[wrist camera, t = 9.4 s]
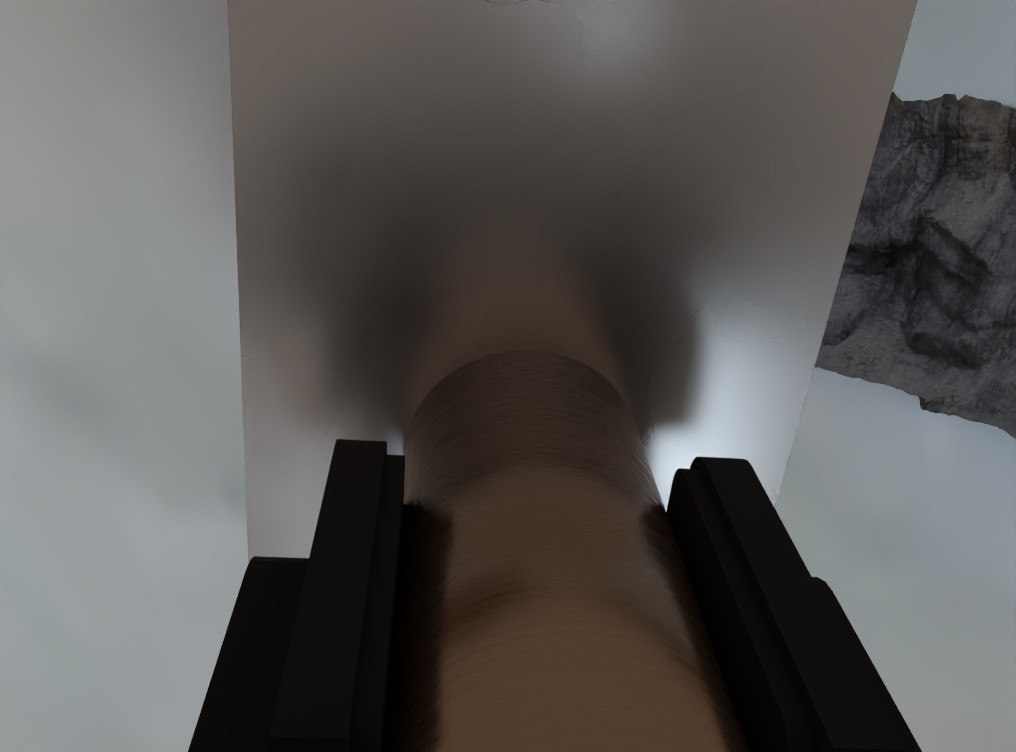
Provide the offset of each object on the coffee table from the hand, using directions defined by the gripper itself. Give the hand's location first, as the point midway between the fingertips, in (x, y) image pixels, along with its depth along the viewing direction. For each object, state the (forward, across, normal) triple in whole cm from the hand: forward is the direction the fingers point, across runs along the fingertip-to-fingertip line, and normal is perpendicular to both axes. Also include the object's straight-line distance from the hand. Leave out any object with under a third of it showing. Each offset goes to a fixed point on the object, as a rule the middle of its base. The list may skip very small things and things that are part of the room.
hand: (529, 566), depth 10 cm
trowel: (+3, 0, -3) cm, 4 cm away
